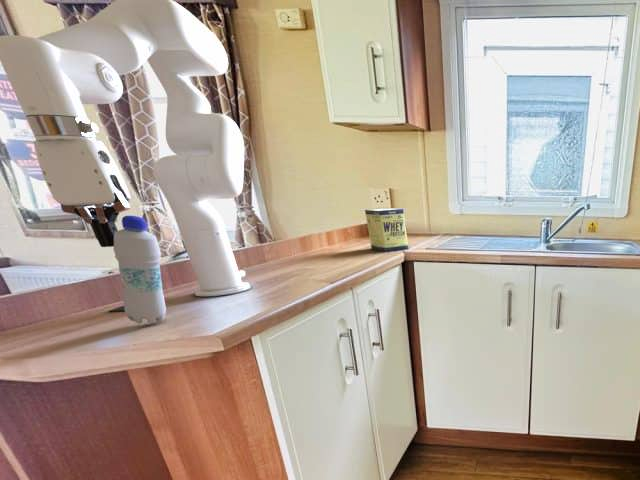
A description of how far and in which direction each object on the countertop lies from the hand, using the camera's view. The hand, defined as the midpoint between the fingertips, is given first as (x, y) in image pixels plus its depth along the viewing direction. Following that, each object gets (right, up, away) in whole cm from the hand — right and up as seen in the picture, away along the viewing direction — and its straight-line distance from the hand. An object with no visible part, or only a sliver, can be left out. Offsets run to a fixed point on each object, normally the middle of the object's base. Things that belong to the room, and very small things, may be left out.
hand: (112, 245), depth 78 cm
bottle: (+1, -13, +6) cm, 15 cm away
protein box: (+22, +32, +101) cm, 108 cm away
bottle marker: (-14, -8, +19) cm, 25 cm away
